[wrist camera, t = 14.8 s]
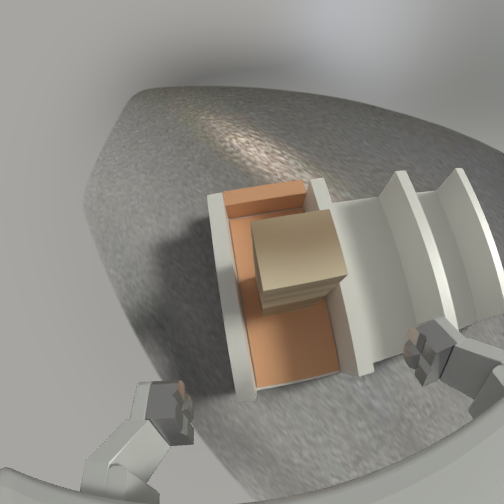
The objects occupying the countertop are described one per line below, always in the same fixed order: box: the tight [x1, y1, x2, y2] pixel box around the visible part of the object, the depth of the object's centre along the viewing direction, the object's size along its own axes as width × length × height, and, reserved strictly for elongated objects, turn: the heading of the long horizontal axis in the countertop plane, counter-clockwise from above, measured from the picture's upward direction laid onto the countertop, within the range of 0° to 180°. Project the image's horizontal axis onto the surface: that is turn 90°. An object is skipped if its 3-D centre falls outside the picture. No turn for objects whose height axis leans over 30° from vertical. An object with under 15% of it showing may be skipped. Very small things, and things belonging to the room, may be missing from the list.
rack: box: [207, 168, 504, 403], centre depth 19 cm, size 14×22×5 cm, turn 100°
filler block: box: [250, 209, 348, 317], centre depth 16 cm, size 3×4×9 cm
